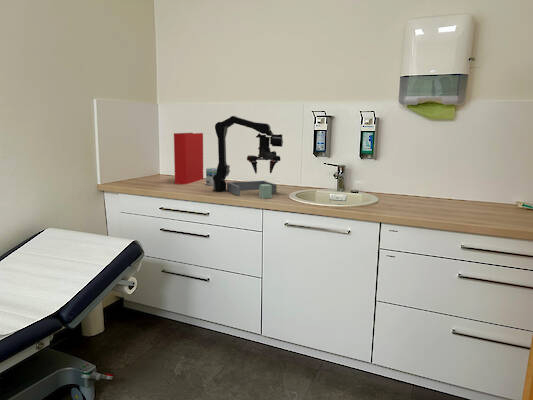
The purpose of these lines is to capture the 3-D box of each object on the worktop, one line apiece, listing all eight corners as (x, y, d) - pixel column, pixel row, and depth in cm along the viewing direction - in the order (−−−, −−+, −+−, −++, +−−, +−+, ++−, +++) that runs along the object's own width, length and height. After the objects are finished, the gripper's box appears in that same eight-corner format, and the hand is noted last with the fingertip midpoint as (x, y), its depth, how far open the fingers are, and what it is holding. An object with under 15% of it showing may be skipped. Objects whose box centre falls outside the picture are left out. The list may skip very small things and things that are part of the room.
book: (192, 178, 278) (192, 132, 271) (203, 179, 275) (202, 133, 269) (173, 183, 252) (172, 133, 246) (185, 184, 250) (184, 133, 243)
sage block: (263, 198, 209) (263, 186, 208) (259, 197, 213) (259, 184, 212) (271, 198, 211) (271, 185, 210) (267, 196, 216) (267, 184, 214)
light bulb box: (213, 186, 246) (213, 169, 244) (205, 185, 250) (205, 168, 248) (224, 184, 254) (224, 167, 252) (217, 183, 258) (217, 166, 256)
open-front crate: (237, 195, 216) (238, 186, 215) (227, 190, 231) (227, 182, 230) (276, 193, 226) (276, 184, 225) (263, 188, 241) (263, 180, 240)
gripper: (254, 146, 210) (253, 175, 213) (285, 147, 218) (284, 174, 221) (246, 145, 220) (246, 173, 223) (276, 145, 228) (275, 172, 231)
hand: (263, 173), depth 224 cm, fingers open, 9 cm apart
